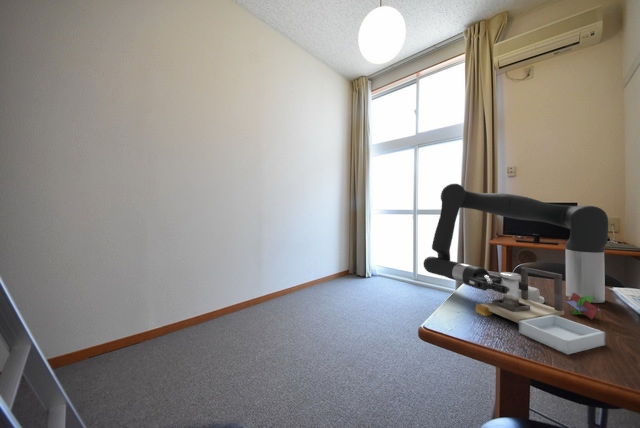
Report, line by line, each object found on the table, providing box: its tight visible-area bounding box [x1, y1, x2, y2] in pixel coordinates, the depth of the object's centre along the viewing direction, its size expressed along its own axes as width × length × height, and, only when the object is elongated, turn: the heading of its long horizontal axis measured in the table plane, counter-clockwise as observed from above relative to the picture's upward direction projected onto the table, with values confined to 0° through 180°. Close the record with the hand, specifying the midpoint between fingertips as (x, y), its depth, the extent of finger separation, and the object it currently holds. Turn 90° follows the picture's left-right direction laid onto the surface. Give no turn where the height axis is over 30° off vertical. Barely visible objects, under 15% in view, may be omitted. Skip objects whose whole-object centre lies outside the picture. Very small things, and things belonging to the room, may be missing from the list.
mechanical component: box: [519, 285, 545, 305], centre depth 84 cm, size 10×4×10 cm
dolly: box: [475, 266, 565, 325], centre depth 71 cm, size 20×12×13 cm, turn 105°
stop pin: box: [499, 271, 521, 308], centre depth 72 cm, size 5×5×10 cm
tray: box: [518, 315, 606, 355], centre depth 58 cm, size 13×10×3 cm
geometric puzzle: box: [564, 292, 602, 320], centre depth 70 cm, size 7×7×8 cm
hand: (517, 289), depth 70 cm, fingers open, 8 cm apart
